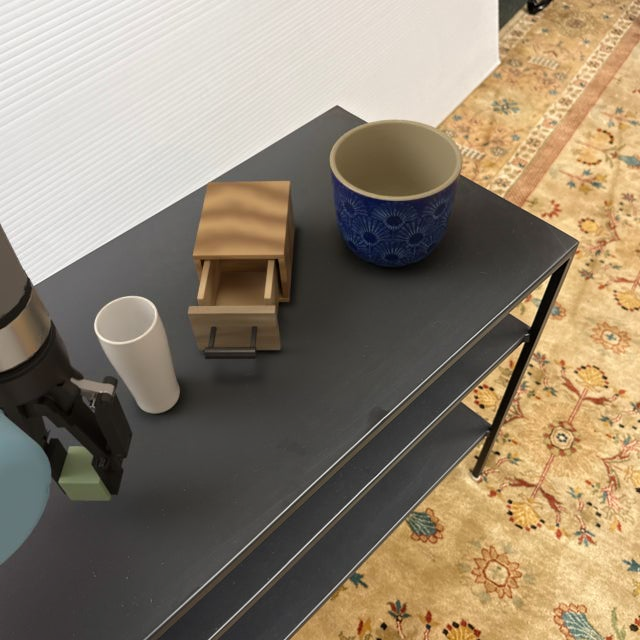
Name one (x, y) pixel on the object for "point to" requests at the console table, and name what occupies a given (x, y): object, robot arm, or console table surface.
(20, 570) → the console table surface
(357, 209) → the planter
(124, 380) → the drinking glass
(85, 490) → the block
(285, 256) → the cabinet
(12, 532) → the robot arm
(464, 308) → the console table surface
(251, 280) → the drawer
